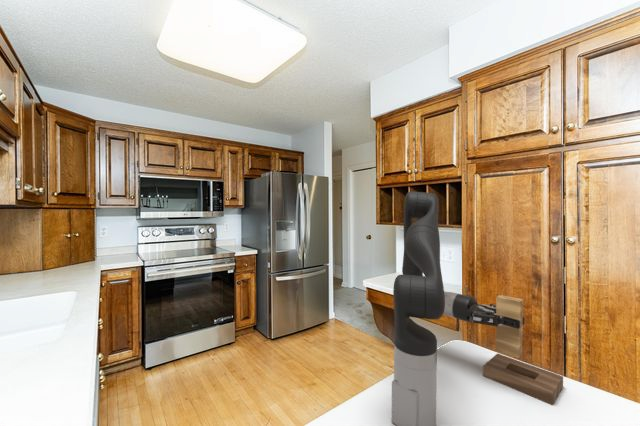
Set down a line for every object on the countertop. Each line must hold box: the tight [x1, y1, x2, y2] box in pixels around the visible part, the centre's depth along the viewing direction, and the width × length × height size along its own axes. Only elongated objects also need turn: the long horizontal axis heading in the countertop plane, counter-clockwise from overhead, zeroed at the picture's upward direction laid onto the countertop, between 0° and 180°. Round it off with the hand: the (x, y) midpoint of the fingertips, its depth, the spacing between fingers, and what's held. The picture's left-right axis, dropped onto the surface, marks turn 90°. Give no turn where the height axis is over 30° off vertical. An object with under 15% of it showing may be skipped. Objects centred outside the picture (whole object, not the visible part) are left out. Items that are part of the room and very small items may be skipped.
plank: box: [494, 294, 524, 359], centre depth 79 cm, size 3×6×15 cm, turn 41°
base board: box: [482, 352, 564, 406], centre depth 81 cm, size 11×16×3 cm
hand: (521, 322), depth 77 cm, fingers closed on plank, 3 cm apart
